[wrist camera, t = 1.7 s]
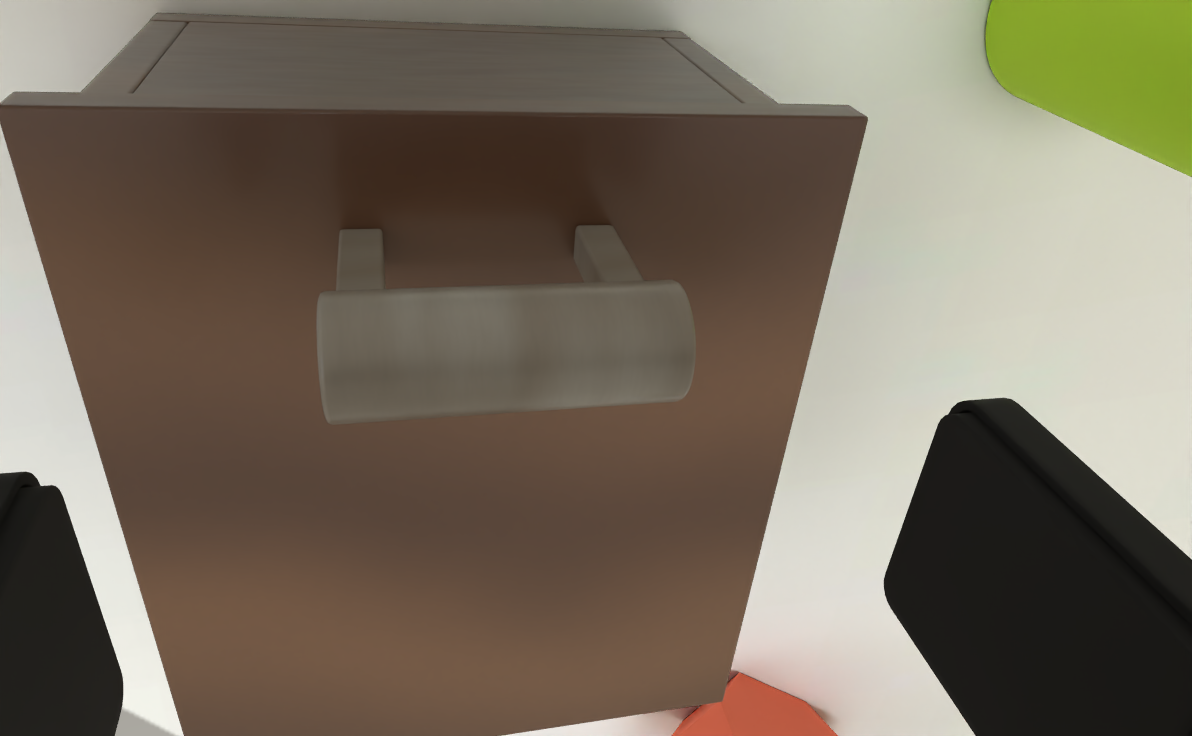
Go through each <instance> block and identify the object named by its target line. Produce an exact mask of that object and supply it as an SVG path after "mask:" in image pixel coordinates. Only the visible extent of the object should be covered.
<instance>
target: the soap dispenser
mask: <svg viewBox="0 0 1192 736" xmlns="http://www.w3.org/2000/svg"><path fill="white" fill-rule="evenodd" d="M986 51H987V57H988V61H989V64H990V67H991V70H992V72H993V74H994V76H995V77H996V79H997V80H998V82H999V83H1000V84H1001V85H1002V87H1003V88H1004V89H1006V90H1007V91H1008V92H1009V93H1011V94H1012V95H1014V96H1016V97H1018V98H1020V99H1022V100H1024V101H1027V102H1029V103H1031V104H1033V105H1035V106H1037V107H1040V108H1042V109H1044V110H1046V111H1048V112H1051V113H1053V114H1055V115H1057V116H1059V117H1062V118H1064V119H1066V120H1068V121H1070V122H1072V123H1075V124H1077V125H1079V126H1081V127H1083V128H1086V129H1088V130H1090V131H1092V132H1094V133H1096V134H1099V135H1101V136H1103V137H1105V138H1107V139H1110V140H1112V141H1114V142H1116V143H1118V144H1121V145H1123V146H1125V147H1127V148H1129V149H1131V150H1134V151H1136V152H1138V153H1140V154H1142V155H1145V156H1147V157H1149V158H1151V159H1153V160H1156V161H1158V162H1160V163H1162V164H1164V165H1166V166H1169V167H1171V168H1173V169H1175V170H1177V171H1180V172H1182V173H1184V174H1186V175H1188V176H1191V177H1192V0H992V2H991V5H990V9H989V13H988V18H987V25H986Z"/></svg>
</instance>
